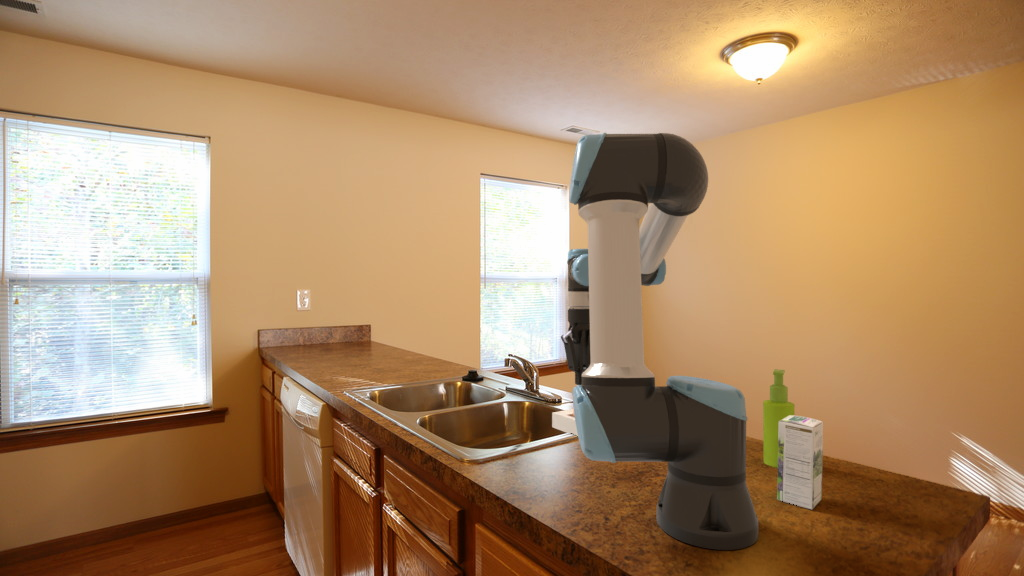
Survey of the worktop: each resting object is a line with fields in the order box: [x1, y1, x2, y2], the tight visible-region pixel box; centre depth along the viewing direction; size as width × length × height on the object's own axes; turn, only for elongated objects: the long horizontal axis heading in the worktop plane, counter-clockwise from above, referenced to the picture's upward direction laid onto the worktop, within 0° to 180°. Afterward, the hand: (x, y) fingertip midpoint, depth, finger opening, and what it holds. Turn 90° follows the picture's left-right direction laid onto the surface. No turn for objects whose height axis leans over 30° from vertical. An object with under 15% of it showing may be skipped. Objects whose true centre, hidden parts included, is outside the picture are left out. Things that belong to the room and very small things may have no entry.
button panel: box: [551, 408, 578, 437], centre depth 137 cm, size 26×14×4 cm, turn 125°
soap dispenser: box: [762, 368, 795, 469], centre depth 108 cm, size 6×7×20 cm
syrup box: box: [776, 414, 824, 510], centre depth 89 cm, size 6×6×14 cm
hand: (582, 396), depth 132 cm, fingers closed
